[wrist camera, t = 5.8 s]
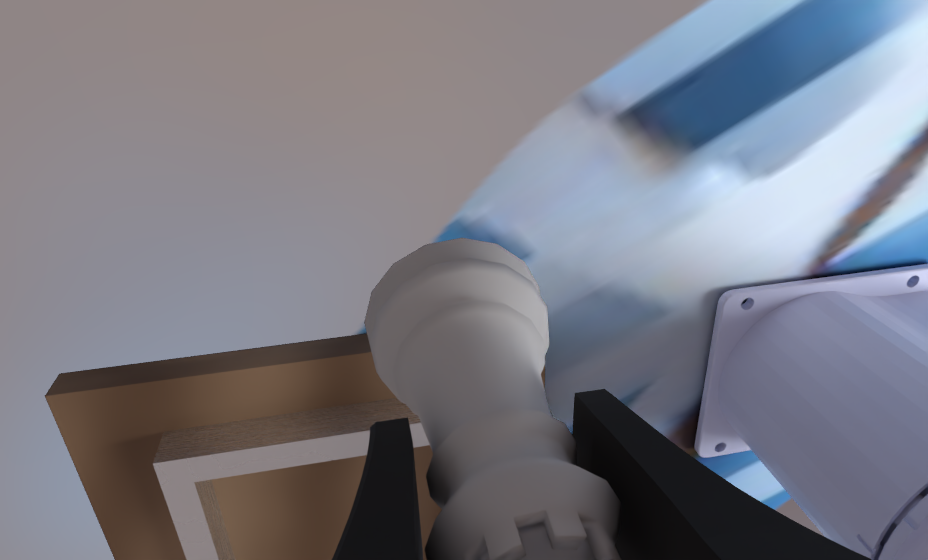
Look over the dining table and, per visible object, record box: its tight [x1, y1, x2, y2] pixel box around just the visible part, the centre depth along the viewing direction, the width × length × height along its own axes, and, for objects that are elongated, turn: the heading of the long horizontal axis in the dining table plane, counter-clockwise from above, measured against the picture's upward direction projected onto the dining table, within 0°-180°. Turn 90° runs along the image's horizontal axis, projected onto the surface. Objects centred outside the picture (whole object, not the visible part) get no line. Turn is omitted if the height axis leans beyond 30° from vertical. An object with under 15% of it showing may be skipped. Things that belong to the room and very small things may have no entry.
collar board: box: [45, 334, 545, 560], centre depth 24 cm, size 16×14×3 cm
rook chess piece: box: [364, 238, 621, 560], centre depth 13 cm, size 4×4×8 cm
